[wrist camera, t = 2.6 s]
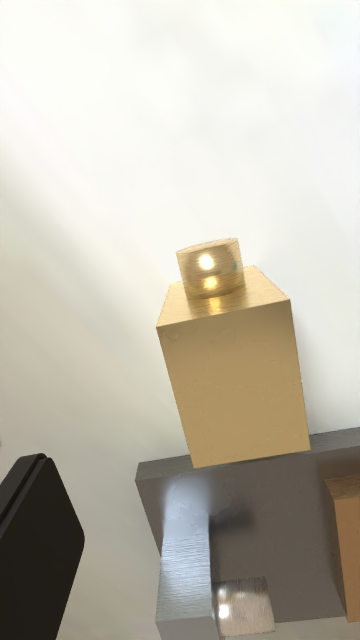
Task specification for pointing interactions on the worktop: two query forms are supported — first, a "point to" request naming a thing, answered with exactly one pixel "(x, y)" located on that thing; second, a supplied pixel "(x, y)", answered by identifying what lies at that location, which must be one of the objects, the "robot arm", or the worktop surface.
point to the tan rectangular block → (232, 358)
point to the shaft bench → (256, 539)
